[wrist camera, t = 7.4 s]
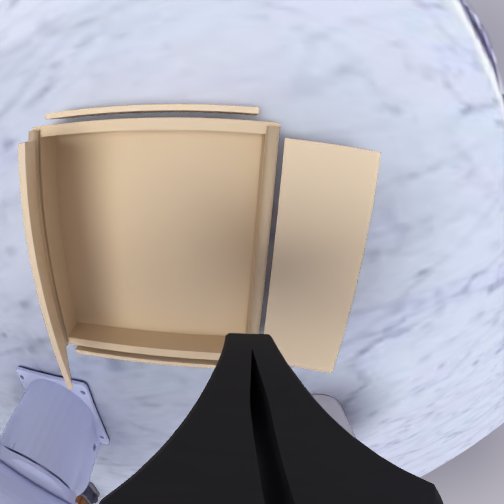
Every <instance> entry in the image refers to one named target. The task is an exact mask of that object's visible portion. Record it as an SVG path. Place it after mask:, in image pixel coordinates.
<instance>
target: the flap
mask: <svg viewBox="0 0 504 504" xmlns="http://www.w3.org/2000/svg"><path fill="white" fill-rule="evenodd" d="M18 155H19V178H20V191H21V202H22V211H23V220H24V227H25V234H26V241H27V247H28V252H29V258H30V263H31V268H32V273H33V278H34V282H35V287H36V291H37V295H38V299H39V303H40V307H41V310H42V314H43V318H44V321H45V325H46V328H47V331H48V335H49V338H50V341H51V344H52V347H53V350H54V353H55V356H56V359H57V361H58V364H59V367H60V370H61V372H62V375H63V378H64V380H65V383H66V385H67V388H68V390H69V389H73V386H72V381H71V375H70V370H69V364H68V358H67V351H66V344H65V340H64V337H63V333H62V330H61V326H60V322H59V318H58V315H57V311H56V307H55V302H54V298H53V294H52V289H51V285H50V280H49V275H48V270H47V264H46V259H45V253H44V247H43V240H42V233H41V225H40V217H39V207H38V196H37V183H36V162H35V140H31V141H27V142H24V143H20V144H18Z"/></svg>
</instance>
